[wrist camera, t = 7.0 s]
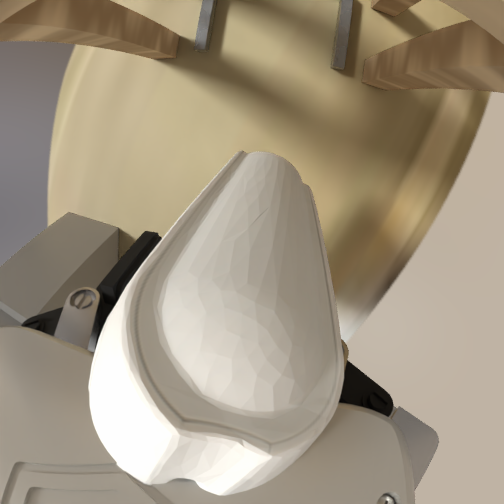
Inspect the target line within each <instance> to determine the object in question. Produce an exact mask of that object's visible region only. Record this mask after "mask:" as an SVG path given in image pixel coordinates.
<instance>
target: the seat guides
mask: <svg viewBox="0 0 504 504" xmlns="http://www.w3.org/2000/svg"><path fill="white" fill-rule="evenodd" d="M352 3H353V0H340V2H339V10H338V18H337V26H336V34H335V41H334V48H333V55H332V61H331V68H334V69H338V70H343V69H344V66H345V59H346V52H347V45H348V38H349V30H350V22H351V13H352ZM216 4H217V0H203V2H202V7H201V12H200V17H199V23H198V28H197V34H196V40H195V46H194V50H196V51H198V52H208V50H209V43H210V37H211V31H212V25H213V20H214V14H215V9H216Z"/></svg>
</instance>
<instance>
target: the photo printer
mask: <svg viewBox="0 0 504 504" xmlns="http://www.w3.org/2000/svg"><path fill="white" fill-rule="evenodd" d="M343 381H344V356H343V349H342V343H341V336H340V327H339V319H338V313H337V307H336V300H335V295H334V289H333V284H332V279H331V273H330V268H329V262H328V257H327V253H326V247H325V243H324V238H323V234H322V229H321V226H320V221H319V217H318V212H317V208H316V204H315V201H314V197H313V193H312V190H311V189H310V187H309V186H308V185H306V184H304V183H303V182H302V179H301V177H300V175H299V173H298V171H297V170H296V169H295V167H294V166H293V165H292V164H291V163H290V162H288V161H287V160H286V159H284V158H283V157H281V156H278V155H276V154H273V153H269V152H252V153H246V152H244V151H239V152H237V153H236V154H235V155H234V156H233V157H232V158H231V159H230V160H229V161H228V163H227V164H226V165H225V166H224V167H223V168H222V169H221V170H220V171H219V172H218V174H217V175H216V176H215V177H214V178H213V179H212V180H211V181H210V182H209V184H208V185H207V186H206V187H205V188H204V189H203V190H202V192H201V193H200V194H199V195H198V196H197V197H196V199H195V200H194V201H193V202H192V203H191V204H190V205H189V207H188V208H187V209H186V210H185V211H184V213H183V214H182V215H181V216H180V217H179V219H178V220H177V221H176V222H175V223H174V225H173V226H172V227H171V228H170V230H169V231H168V232H167V233H166V234H165V236H164V237H163V238H162V239H161V241H160V242H159V243H158V244H157V246H156V247H155V248H154V249H153V251H152V252H151V253H150V254H149V256H148V257H147V258H146V259H145V261H144V262H143V263H142V265H141V266H140V267H139V269H138V270H137V272H136V273H135V274H134V276H133V277H132V279H131V280H130V282H129V283H128V284H127V286H126V287H125V289H124V291H123V293H122V294H121V296H120V298H119V300H118V302H117V303H116V305H115V307H114V308H113V310H112V311H111V313H110V314H109V316H108V317H107V320H106V322H105V324H104V327H103V329H102V332H101V334H100V337H99V339H98V343H97V346H96V349H95V354H94V357H93V361H92V366H91V373H90V379H89V387H88V389H89V394H90V410H91V415H92V420H93V424H94V426H95V429H96V431H97V434H98V436H99V438H100V440H101V442H102V443H103V445H104V446H105V448H106V450H107V451H108V452H109V454H110V455H111V456H112V457H113V458H114V460H115V461H116V462H117V465H118V466H119V467H120V468H121V469H122V470H123V471H124V472H126V473H127V474H128V475H129V476H131V477H132V478H134V479H135V480H137V481H138V482H140V483H142V484H144V485H148V486H153V485H152V484H165V483H168V482H170V481H172V480H173V479H177V478H186V479H191V480H194V481H195V482H196V483H197V484H198V485H199V487H200V488H202V489H204V490H206V491H208V492H211V493H213V494H216V495H223V496H226V495H230V494H234V493H238V492H242V491H246V490H249V489H252V488H255V487H257V486H260V485H262V484H264V483H266V482H268V481H270V480H271V479H273V478H275V477H276V476H278V475H279V474H281V473H282V472H283V471H284V470H286V469H287V468H288V467H289V466H290V465H292V464H293V463H294V462H295V461H296V460H297V459H298V458H299V457H300V456H301V455H302V454H303V453H304V452H305V451H306V450H307V449H308V448H309V447H310V446H311V445H312V443H313V442H314V441H315V440H316V439H317V438H318V436H319V435H320V434H321V433H322V431H323V430H324V428H325V427H326V426H327V424H328V423H329V421H330V420H331V418H332V417H333V415H334V413H335V410H336V408H337V406H338V402H339V399H340V395H341V391H342V386H343Z"/></svg>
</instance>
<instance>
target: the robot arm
mask: <svg viewBox="0 0 504 504" xmlns="http://www.w3.org/2000/svg"><path fill="white" fill-rule="evenodd" d="M161 239H162V238H161V237H160V236H159V235H158V233H155V232H149V231H145V232H144V233H143V234H142V235H141V236H140V237H139V238H138V239H137V241H136V242H135V243H134V244H133V245H132V246H131V247H130V248H129V250H128V251H127V252H126V253H125V254H124V255H123V257H122V258H121V259H120V260H119V261H118V262H117V263H116V264H115V266H114V267H113V268H112V269H111V270H110V272H109V273H108V274H107V275H106V277H105V278H104V279H103V280H102V282H101V283H100V284H99V285H98V287H97V288H96V289H94V288H91V287H81V288H78V289H76V290H74V291H73V292H72V293H70V294H69V296H68V298H67V300H66V302H65V305H64V307H61V308H58V309H55V310H52V311H48V312H45V313H42V314H39V315H36V316H33V317H30V318H28V319H27V320H26V321H24V322H23V324H22V325H21V326H19V325H17V326H3V327H0V504H415V492H414V491H415V489H416V487H417V486H418V484H419V482H420V481H421V479H422V477H423V475H424V473H425V471H426V470H427V468H428V466H429V464H430V462H431V460H432V458H433V456H434V454H435V451H436V449H437V447H438V443H439V440H438V436H437V433H436V432H435V431H434V430H433V429H432V428H431V427H429V426H428V425H426V424H425V423H423V422H422V421H420V420H419V419H417V418H416V417H414V416H413V415H411V414H410V413H409V412H407V411H405V410H404V409H403V408H401V407H398V408H396V407H394V406H393V400H392V398H391V396H390V395H389V394H388V393H387V392H386V391H385V390H384V389H383V388H382V387H380V386H379V385H378V384H377V383H375V382H374V381H373V380H372V379H370V378H369V377H367V376H366V375H365V374H364V373H363V372H361V371H360V370H359V369H358V368H356V367H355V366H354V365H353V364H352V363H350V362H349V361H348V360H347V358H348V351H349V350H348V348H347V345H346V344H345V342H344V341H343V340H342V339H341V343H342V349H343V356H344V381H343V386H342V391H341V395H340V399H339V402H338V406H337V408H336V410H335V413H334V415H333V417H332V418H331V420H330V421H329V423H328V424H327V426H326V427H325V428H324V430H323V431H322V433H321V434H320V435H319V436H318V438H317V439H316V440H315V441H314V442H313V443H312V445H311V446H310V447H309V448H308V449H307V450H306V451H305V452H304V453H303V454H302V455H301V456H300V457H299V458H298V459H297V460H296V461H295V462H294V463H293V464H292V465H290V466H289V467H288V468H287V469H286V470H284V471H283V472H282V473H281V474H279V475H278V476H276V477H275V478H273V479H271V480H270V481H268V482H266V483H264V484H262V485H260V486H257V487H255V488H252V489H249V490H246V491H242V492H238V493H234V494H230V495H226V496H223V495H216V494H213V493H211V492H208V491H206V490H204V489H202V488H200V487H199V485H198V484H197V483H196V482H195V481H194V480H191V479H186V478H177V479H173V480H172V481H170V482H168V483H165V484H152V485H153V486H148V485H144V484H142V483H140V482H138V481H137V480H135V479H134V478H132V477H131V476H129V475H128V474H127V473H126V472H124V471H123V470H122V469H121V468H120V467H119V466H118V465H117V462H116V461H115V460H114V458H113V457H112V456H111V455H110V454H109V452H108V451H107V450H106V448H105V446H104V445H103V443H102V442H101V440H100V438H99V436H98V434H97V431H96V429H95V426H94V424H93V420H92V415H91V410H90V394H89V389H88V387H89V379H90V373H91V366H92V361H93V357H94V354H95V349H96V346H97V343H98V339H99V337H100V334H101V332H102V329H103V327H104V324H105V322H106V320H107V317H108V316H109V314H110V313H111V311H112V310H113V308H114V307H115V305H116V303H117V302H118V300H119V298H120V296H121V294H122V293H123V291H124V289H125V287H126V286H127V284H128V283H129V282H130V280H131V279H132V277H133V276H134V274H135V273H136V272H137V270H138V269H139V267H140V266H141V265H142V263H143V262H144V261H145V259H146V258H147V257H148V256H149V254H150V253H151V252H152V251H153V249H154V248H155V247H156V246H157V244H158V243H159V242H160V241H161Z"/></svg>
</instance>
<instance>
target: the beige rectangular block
mask: <svg viewBox="0 0 504 504" xmlns="http://www.w3.org/2000/svg"><path fill="white" fill-rule="evenodd" d="M118 239H119V228H117V227H114V226H111V225H108V224H105V223H102V222H98V221H95V220H92V219H89V218H86V217H83V216H80V215H76V214H73V213H70V212H68V213H67V214H65V215H64V216H63V217H61V218H60V219H58V220H57V221H56V222H54V223H53V224H52V225H50V226H49V227H48V228H46V229H45V230H44V231H42V232H41V233H40V234H38V235H37V236H36V237H35V238H33V239H32V240H31V241H30V242H29V243H27V244H26V245H25V246H24V247H22V248H21V249H20V250H19V251H18V252H17V253H15V254H14V255H13V256H12V257H11V258H10V259H9V260H7V261H6V262H5V263H4V264H3V265H2V266H1V267H0V327H3V326H17V325H19V326H21V325H22V324H23V322H24V321H26V320H27V319H28V318H30V317H33V316H36V315H39V314H42V313H45V312H48V311H52V310H55V309H58V308H61V307H64V305H65V302H66V300H67V298H68V296H69V294H70V293H72V292H73V291H74V290H76V289H78V288H81V287H91V288H94V289H96V288H97V287H98V285H99V284H100V283H101V282H102V280H103V279H104V278H105V277H106V275H107V274H108V273H109V272H110V270H111V269H112V268H113V267H114V266H115V264H116V263H117V262H118V261H119V260H118Z"/></svg>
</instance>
